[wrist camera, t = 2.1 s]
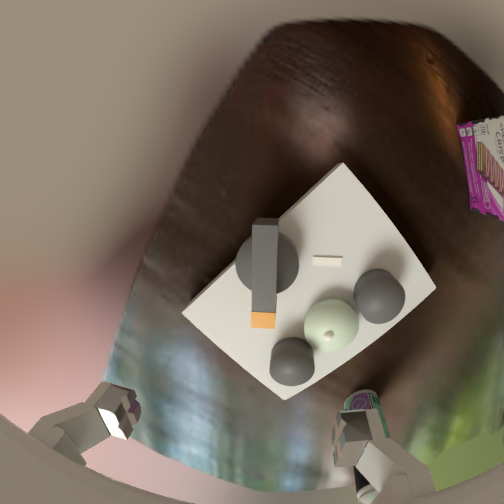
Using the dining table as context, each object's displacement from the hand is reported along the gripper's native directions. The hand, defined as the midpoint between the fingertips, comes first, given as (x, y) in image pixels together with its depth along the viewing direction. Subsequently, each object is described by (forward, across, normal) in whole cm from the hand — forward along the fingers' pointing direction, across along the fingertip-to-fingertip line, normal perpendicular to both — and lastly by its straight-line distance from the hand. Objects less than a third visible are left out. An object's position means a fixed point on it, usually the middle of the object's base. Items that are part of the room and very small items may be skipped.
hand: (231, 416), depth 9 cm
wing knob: (+20, 0, 0) cm, 20 cm away
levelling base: (+23, +5, -5) cm, 24 cm away
